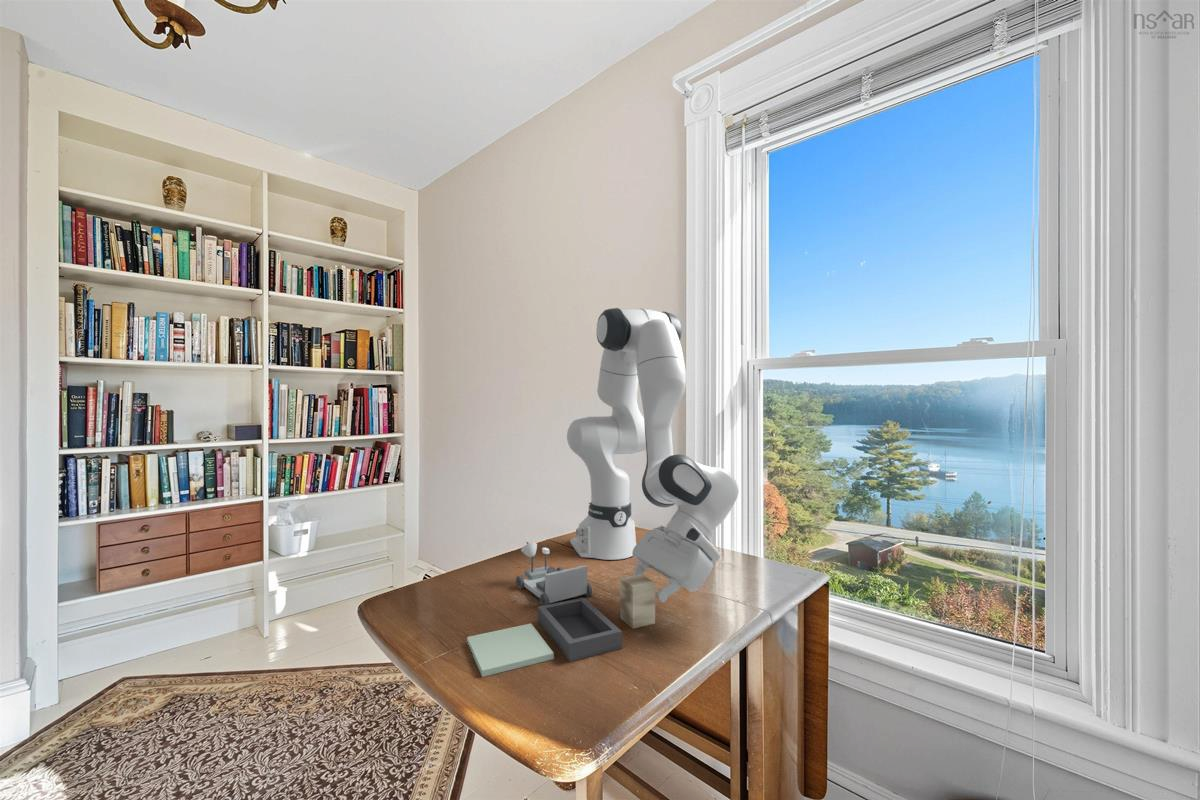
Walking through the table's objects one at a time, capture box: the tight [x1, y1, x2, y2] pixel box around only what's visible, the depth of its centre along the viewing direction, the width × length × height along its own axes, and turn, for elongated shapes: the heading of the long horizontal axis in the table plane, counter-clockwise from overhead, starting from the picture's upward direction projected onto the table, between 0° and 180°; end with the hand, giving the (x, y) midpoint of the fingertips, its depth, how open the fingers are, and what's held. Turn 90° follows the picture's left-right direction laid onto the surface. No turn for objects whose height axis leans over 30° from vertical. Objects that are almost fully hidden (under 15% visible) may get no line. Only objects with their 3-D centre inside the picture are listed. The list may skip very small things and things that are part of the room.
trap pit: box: [537, 597, 623, 663], centre depth 90 cm, size 16×10×3 cm, turn 27°
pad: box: [466, 622, 555, 678], centre depth 84 cm, size 12×12×1 cm
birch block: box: [619, 574, 656, 630], centre depth 95 cm, size 5×5×8 cm
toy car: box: [515, 541, 593, 606], centre depth 111 cm, size 18×10×12 cm
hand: (645, 590), depth 96 cm, fingers open, 8 cm apart
